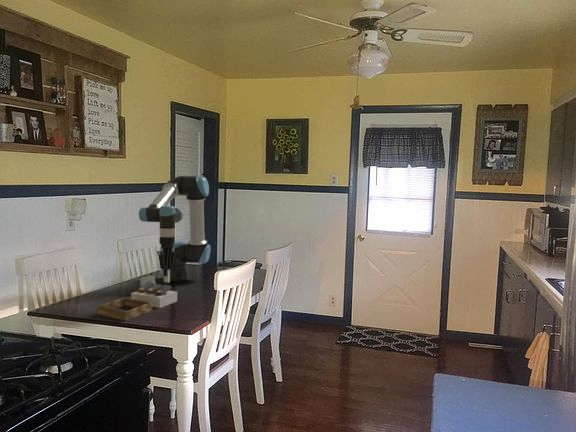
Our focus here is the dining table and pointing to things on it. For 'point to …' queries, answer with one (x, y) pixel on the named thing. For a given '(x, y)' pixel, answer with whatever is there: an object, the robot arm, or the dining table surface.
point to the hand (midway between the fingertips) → (166, 281)
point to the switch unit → (156, 298)
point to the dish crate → (113, 312)
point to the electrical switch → (146, 280)
